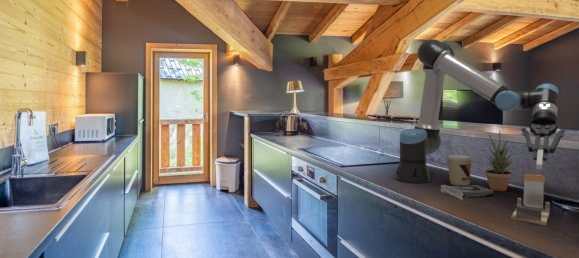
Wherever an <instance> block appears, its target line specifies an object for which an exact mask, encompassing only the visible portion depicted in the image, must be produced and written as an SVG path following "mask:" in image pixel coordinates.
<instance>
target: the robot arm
mask: <svg viewBox="0 0 579 258" xmlns="http://www.w3.org/2000/svg"><path fill="white" fill-rule="evenodd" d="M416 53H417V54H416V55H417V58H418V60H419V62H421V63H422V64H423V66H422V71H423V73H424V74H425V75H424V82H423V89H422V97H421V103H420V109H419V118H418V122H417V123H416V124H415V125H414V128H407V129H404V130H403V129H402V131H401V132H400V133H399V163H398V167H397V169H396V171H395V180H397V181H398V182H404V183H409V184H410V183H411V184H424V183H429V182H430V181H431V175H430V171H429V169H428V166H427V155H430V154H433V153H435V152H436V151H438V150H439V149H440V147H441V145H442V138H441V135H440V131H441V128H440V126H439V125H438V122H439V116H440V115H439V114H440V111H441V110H440V109H441V104H442V97H443V90H444V84H445V77H446V75H448V76H449V77H450V78H452V79H453V80H455V81H457V82H458V83H460V84H462V85H463V86H464V87H467V88H468V89H469V90H472V91H474V92H475V93H476V94H478V95H479V96H481V97H483V98H484V99H486V100H488V101H490V102H491V103H492V104H494V105H495V106H496V107H497V108H498V109H499V110H501V111H502V112H512V111H525V110H532V117H531V123H530V125H529V126H528V128H527V127H526V128H525V127H523V128H521V133H522V136H524V139H525V142H526V147H527V150H528V152H529V153H533V156H532V157H533V160H534V161H536V162H535V163H536V164H535V165H536V170H543V166H544V165H543V162H547V160H548V155H549V154H555V152H556V149H557V147H558V145H559V144H560V141H561V139H562V138H564V136H565V135H566V132H565V131H566V130H565V128H561V129H560V128H559V127H558V125H557V121H558V120H557V119H558V111H559V110H558V108H559V97H560V96H559V88H558V87H557V85H555V84H552V83H542V84H540V85H538V86H536V88H535V89H534V90H529V91H528V90H527V91H514V90H512V89H510V88H509V87H507V86H506V85H503V84H502V83H500V82H498V81H496V80H495V79H493V78H492V77H490V76H489V75H486V74H485V73H483V72H481V71H479V70H478V69H476V68H474V67H473V66H471V65H470V64H468V63H466V62H464V61H462V60H461V59H459V58H457V57H456V55H455V51H454V48H453V47H452V46H451V45H450V44H449V43H447V42H444V41H440V40H438V39H434V38H433V39H432V38H431V39H427V40H425V41H423V42H422V43H420V45H419V47H418V49H417V52H416ZM530 133H532V135H534V136H535V138H534V139H535V140H534V146H533V144H532V141H531V140H532V139H531V137H530V135H531V134H530ZM554 134H555V136H554V138H553V140H552V142H551V144H550V146H549V142H550V137H551V136H553V135H554ZM541 138H543V147H542V148H543V149H540V145H541V144H540V143H541Z"/></svg>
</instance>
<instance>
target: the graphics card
mask: <svg viewBox="0 0 579 258" xmlns="http://www.w3.org/2000/svg"><path fill="white" fill-rule="evenodd" d="M440 193H442V194H443V193H444V194H446V195H447V196H449V197H450V196H451V197H452V198H455V199H458V200H461V201H464V198H465V199H468V198H472V197H473V198H474V197H475V198H477V197H486V196H488V195H491V194H492V195H493V194H494V190H491V189H490V188H487V187H484V186H481V184H479V185H478V184H471V185H470V184H469V185H446V184H441V185H440Z"/></svg>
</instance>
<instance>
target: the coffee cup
mask: <svg viewBox="0 0 579 258" xmlns="http://www.w3.org/2000/svg"><path fill="white" fill-rule="evenodd" d="M447 164H448V165H447V166H448V167H447V168H448V175H449V176H448V178H449V184H450V185H452V186H466V185H470V182H471V167H472V166H471V165H472V157H471V156H470V155H466V154H465V155H464V154H452V155H448V157H447Z"/></svg>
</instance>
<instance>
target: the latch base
mask: <svg viewBox="0 0 579 258" xmlns="http://www.w3.org/2000/svg"><path fill="white" fill-rule="evenodd" d="M522 202H523V200H522V198H521V197H517V200H516V207H515V210H514V211H513V213H512V214H511V216H510V220H513V221H518V222H522V223H523V222H525V223H530V224H536V225H540V226H547V223H548V219H549V217H550V211H551V209H550V206H551V203H550V202H549V201H545V202H544V203H545V205H544V207H545V208H544V209H543V210H541V209H534V208H528V207H523V205H522V204H523V203H522Z"/></svg>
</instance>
